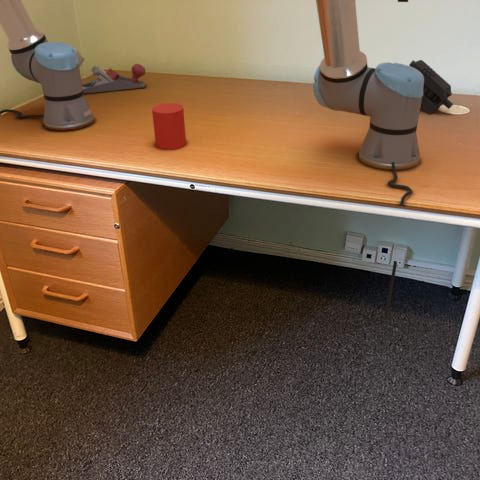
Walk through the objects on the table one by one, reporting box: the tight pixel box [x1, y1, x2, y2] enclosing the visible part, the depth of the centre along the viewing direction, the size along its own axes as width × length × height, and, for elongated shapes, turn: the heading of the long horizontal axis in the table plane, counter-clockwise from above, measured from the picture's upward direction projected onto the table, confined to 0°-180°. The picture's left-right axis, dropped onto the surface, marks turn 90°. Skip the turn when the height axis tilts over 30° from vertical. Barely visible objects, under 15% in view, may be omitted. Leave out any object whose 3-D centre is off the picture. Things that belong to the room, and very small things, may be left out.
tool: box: [408, 59, 454, 114], centre depth 170 cm, size 6×19×15 cm, turn 51°
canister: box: [151, 102, 187, 150], centre depth 148 cm, size 9×9×10 cm
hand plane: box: [75, 49, 146, 95], centre depth 194 cm, size 7×31×15 cm, turn 107°
